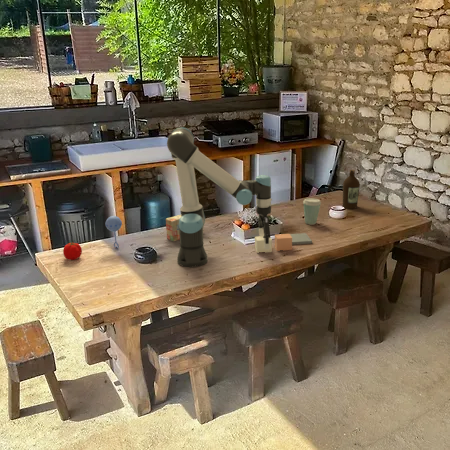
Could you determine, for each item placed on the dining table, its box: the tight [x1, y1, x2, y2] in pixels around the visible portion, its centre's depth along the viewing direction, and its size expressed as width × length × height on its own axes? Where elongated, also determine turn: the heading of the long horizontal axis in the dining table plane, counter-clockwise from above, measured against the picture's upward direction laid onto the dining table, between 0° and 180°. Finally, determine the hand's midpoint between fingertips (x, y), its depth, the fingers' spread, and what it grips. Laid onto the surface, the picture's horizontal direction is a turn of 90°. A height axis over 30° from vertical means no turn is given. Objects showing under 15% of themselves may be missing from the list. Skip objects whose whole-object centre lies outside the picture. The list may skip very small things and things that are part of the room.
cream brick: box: [254, 235, 273, 254], centre depth 261 cm, size 8×6×7 cm
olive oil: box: [342, 169, 361, 210], centre depth 324 cm, size 11×11×25 cm
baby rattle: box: [105, 215, 123, 249], centre depth 266 cm, size 9×9×18 cm
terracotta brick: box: [274, 233, 293, 252], centre depth 263 cm, size 8×6×7 cm
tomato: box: [62, 242, 83, 261], centre depth 255 cm, size 9×10×8 cm
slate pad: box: [289, 232, 313, 246], centre depth 274 cm, size 12×12×2 cm
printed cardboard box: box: [165, 213, 181, 242], centre depth 283 cm, size 21×6×12 cm, turn 131°
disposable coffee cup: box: [302, 198, 322, 225], centre depth 298 cm, size 11×11×15 cm
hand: (264, 244), depth 261 cm, fingers open, 13 cm apart
